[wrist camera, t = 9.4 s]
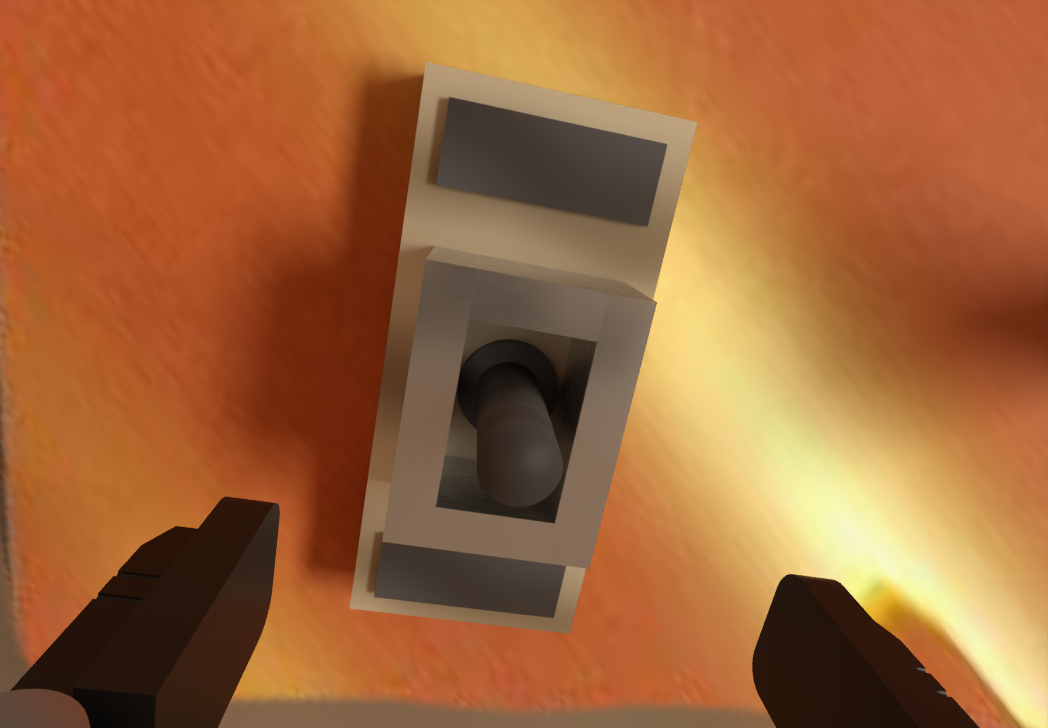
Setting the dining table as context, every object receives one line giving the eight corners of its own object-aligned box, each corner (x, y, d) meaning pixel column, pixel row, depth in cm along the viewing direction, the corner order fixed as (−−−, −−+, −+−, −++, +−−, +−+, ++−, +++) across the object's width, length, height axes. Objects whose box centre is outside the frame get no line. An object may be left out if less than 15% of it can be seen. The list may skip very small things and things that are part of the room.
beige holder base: (430, 74, 19) (400, 0, 12) (676, 128, 20) (797, 93, 13) (359, 574, 24) (304, 758, 16) (562, 599, 25) (600, 783, 17)
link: (434, 246, 19) (425, 259, 15) (625, 282, 19) (656, 302, 16) (397, 484, 21) (381, 541, 17) (571, 509, 22) (588, 568, 18)
